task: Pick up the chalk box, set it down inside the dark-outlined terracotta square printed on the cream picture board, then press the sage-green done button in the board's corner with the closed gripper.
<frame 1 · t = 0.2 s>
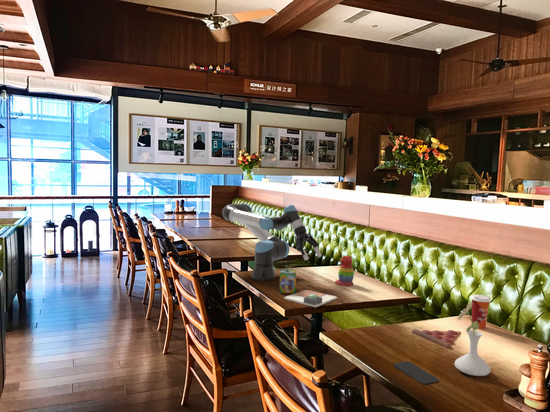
hand: (313, 258, 257), 16 cm above the table, tool tilted 35°, fingers open, 13 cm apart
flower in vase: (470, 372, 145), on the table
pizza slice: (444, 338, 177), on the table
done button: (313, 297, 215), point 4 cm above the table, slide at 0.0 cm
paper cup: (478, 327, 190), on the table
picture board: (310, 298, 224), on the table
chalk box: (287, 291, 238), on the table
stacking bear: (345, 284, 258), on the table
phone: (415, 374, 143), on the table
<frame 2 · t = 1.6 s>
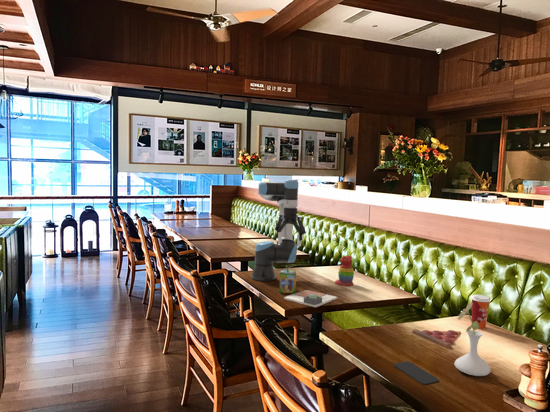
hand: (289, 244, 236), 27 cm above the table, tool pointing down, fingers open, 13 cm apart
nothing on the table moved.
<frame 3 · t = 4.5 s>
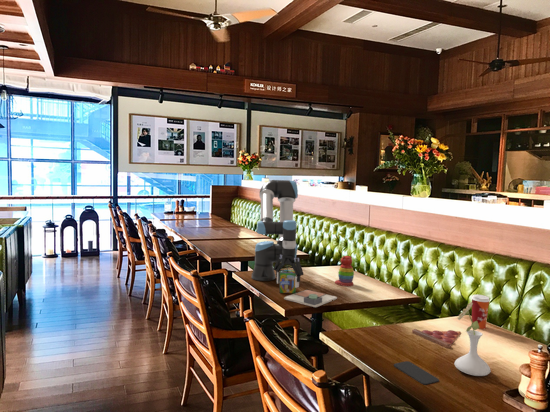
hand: (287, 285, 238), 4 cm above the table, tool pointing down, fingers closed on chalk box, 12 cm apart
chalk box: (287, 291, 238), on the table, touching gripper
everything else where it was.
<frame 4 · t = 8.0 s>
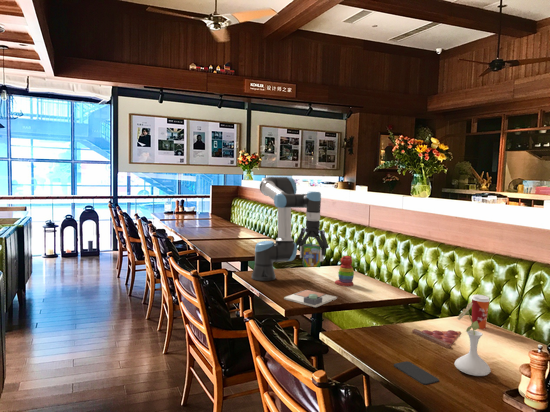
hand: (311, 259, 228), 21 cm above the table, tool pointing down, fingers closed on chalk box, 12 cm apart
chalk box: (311, 266, 228), point 17 cm above the table, touching gripper
everything else where it was.
when the fingers open (6 cm above the table, at t = 11.8 s): chalk box drops 1 cm, resting on picture board.
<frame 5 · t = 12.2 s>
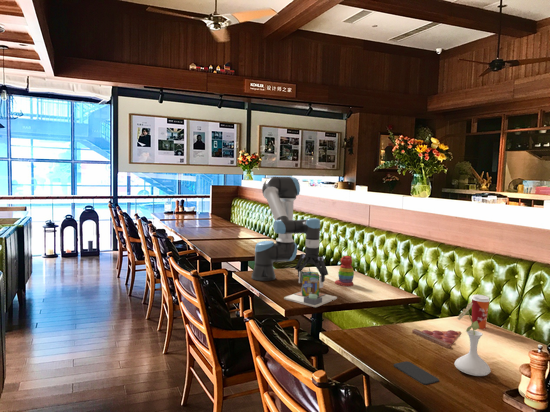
hand: (310, 285, 229), 6 cm above the table, tool pointing down, fingers open, 13 cm apart
chalk box: (309, 294, 230), point 1 cm above the table, touching gripper, picture board
everything else where it was.
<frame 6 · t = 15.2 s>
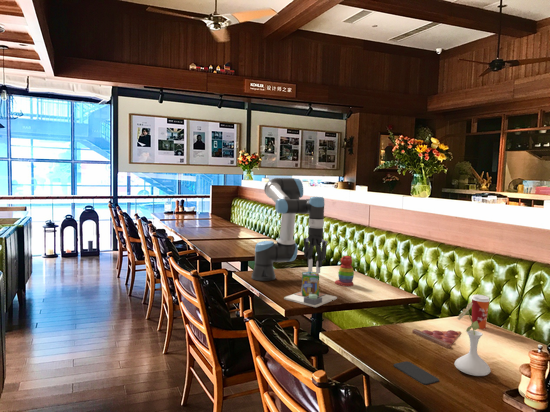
hand: (314, 272, 214), 17 cm above the table, tool pointing down, fingers open, 4 cm apart
chalk box: (309, 294, 230), point 1 cm above the table, touching picture board
everything else where it was.
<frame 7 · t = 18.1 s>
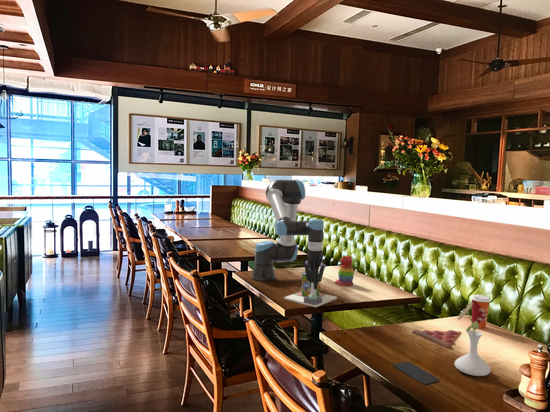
hand: (313, 294, 215), 5 cm above the table, tool pointing down, fingers closed
done button: (313, 297, 215), point 3 cm above the table, slide at 0.1 cm, touching gripper
everything else where it was.
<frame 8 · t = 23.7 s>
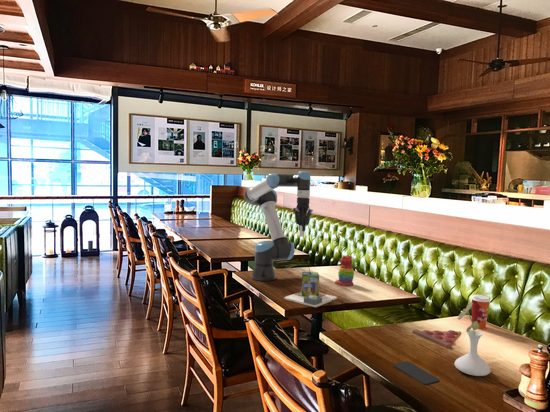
hand: (301, 236, 252), 29 cm above the table, tool pointing down, fingers closed
done button: (313, 298, 215), point 3 cm above the table, slide at 0.6 cm
everything else where it was.
at the end: chalk box inside the target area (0.3 cm from its centre), point 0.9 cm above the table; chalk box tilted 0°; done button slide at 0.6 cm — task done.
